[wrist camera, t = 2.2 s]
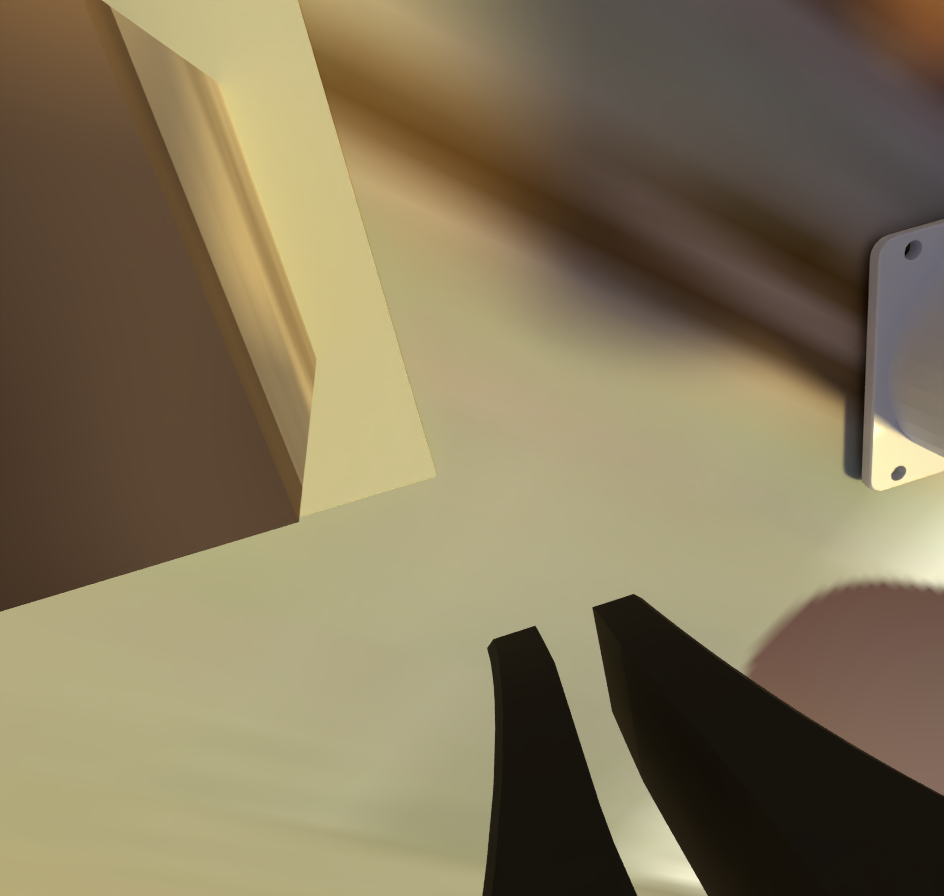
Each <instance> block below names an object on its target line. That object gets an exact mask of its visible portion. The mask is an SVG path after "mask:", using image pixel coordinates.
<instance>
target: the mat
mask: <svg viewBox="0 0 944 896" xmlns="http://www.w3.org/2000/svg"><path fill="white" fill-rule="evenodd" d="M102 1H103V2H105V3H106V4H108V5H109V6H110V7H112V8H113V9H115V10H116V11H117V12H119V13H120V14H122V15H123V16H125V17H126V18H127V19H129V20H130V21H132V22H133V23H134V24H136V25H137V26H139V27H140V28H141V29H143V30H144V31H146V32H147V33H149V34H150V35H151V36H153V37H154V38H156V39H157V40H158V41H160V42H161V43H163V44H164V45H165V46H167V47H168V48H170V49H171V50H173V51H174V52H175V53H177V54H178V55H180V56H181V57H182V58H184V59H185V60H187V61H188V62H189V63H191V64H192V65H194V66H195V67H197V68H198V69H199V70H201V71H202V72H204V73H205V74H206V75H208V76H209V77H211V78H212V79H213V80H215V81H216V82H218V83H219V84H220V87H221V90H222V93H223V95H224V98H225V101H226V104H227V107H228V110H229V112H230V115H231V118H232V121H233V124H234V127H235V129H236V132H237V135H238V138H239V141H240V144H241V146H242V149H243V152H244V155H245V158H246V161H247V163H248V166H249V169H250V172H251V175H252V178H253V180H254V183H255V186H256V189H257V192H258V195H259V197H260V200H261V203H262V206H263V209H264V212H265V214H266V217H267V220H268V223H269V226H270V229H271V231H272V234H273V237H274V240H275V243H276V246H277V248H278V251H279V254H280V257H281V260H282V263H283V265H284V268H285V271H286V274H287V277H288V280H289V282H290V285H291V288H292V291H293V294H294V297H295V299H296V302H297V305H298V308H299V311H300V314H301V316H302V319H303V322H304V325H305V328H306V331H307V333H308V336H309V339H310V342H311V345H312V347H313V350H314V353H315V356H316V359H317V360H316V369H315V378H314V387H313V397H312V406H311V415H310V424H309V433H308V443H307V452H306V461H305V470H304V479H303V489H302V498H301V507H300V516H299V517H302V516H305V515H309V514H312V513H315V512H319V511H322V510H325V509H329V508H332V507H335V506H339V505H342V504H345V503H349V502H352V501H355V500H359V499H362V498H365V497H369V496H372V495H375V494H379V493H382V492H385V491H389V490H392V489H395V488H399V487H402V486H405V485H409V484H412V483H415V482H419V481H422V480H425V479H429V478H432V477H435V476H436V472H435V469H434V466H433V462H432V459H431V455H430V452H429V448H428V445H427V442H426V438H425V435H424V431H423V428H422V425H421V421H420V418H419V414H418V411H417V407H416V404H415V401H414V397H413V394H412V390H411V387H410V383H409V380H408V377H407V373H406V370H405V366H404V363H403V359H402V356H401V353H400V349H399V346H398V342H397V339H396V335H395V332H394V329H393V325H392V322H391V318H390V315H389V312H388V308H387V305H386V301H385V298H384V294H383V291H382V288H381V284H380V281H379V277H378V274H377V270H376V267H375V264H374V260H373V257H372V253H371V250H370V246H369V243H368V240H367V236H366V233H365V229H364V226H363V223H362V219H361V216H360V212H359V209H358V205H357V202H356V199H355V195H354V192H353V188H352V185H351V181H350V178H349V175H348V171H347V168H346V164H345V161H344V157H343V154H342V151H341V147H340V144H339V140H338V137H337V133H336V130H335V127H334V123H333V120H332V116H331V113H330V110H329V106H328V103H327V99H326V96H325V92H324V89H323V86H322V82H321V79H320V75H319V72H318V68H317V65H316V62H315V58H314V55H313V51H312V48H311V44H310V41H309V38H308V34H307V31H306V27H305V24H304V21H303V17H302V14H301V10H300V7H299V3H298V0H102Z"/></svg>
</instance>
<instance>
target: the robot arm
mask: <svg viewBox="0 0 944 896" xmlns="http://www.w3.org/2000/svg"><path fill="white" fill-rule="evenodd" d="M909 243H910V245H911V246H910V250H909V252H908V253H907V255H906V256H905V254H904V252H905V249H906V247H907V245H908V244H909ZM895 468H896V469H895ZM894 469H895V470H894ZM893 470H894V472H893V473H892V471H893ZM942 471H944V219H941V220H938V221H934V222H931V223H927V224H924V225H920V226H917V227H913V228H910V229H906V230H903V231H899V232H896V233H892V234H889V235H886V236H884V237H882V238H881V239H880V240H879V241H878V242H877V243H876V244H875V245H874V247H873V249H872V251H871V256H870V272H869V298H868V325H867V351H866V378H865V404H864V431H863V457H862V482H863V483H864V484H865V486H867V487H869V488H870V489H872V490H875V491H882V490H886V489H889V488H892V487H895V486H898V485H901V484H904V483H908V482H911V481H914V480H917V479H920V478H923V477H926V476H930V475H933V474H936V473H939V472H942ZM592 608H593V613H594V618H595V624H596V629H597V634H598V639H599V645H600V650H601V655H602V660H603V666H604V671H605V676H606V681H607V687H608V692H609V697H610V702H611V708H612V712H613V714H614V717H615V719H616V721H617V723H618V726H619V728H620V730H621V733H622V735H623V737H624V740H625V742H626V744H627V746H628V749H629V751H630V753H631V755H632V758H633V760H634V762H635V764H636V766H637V769H638V771H639V773H640V775H641V778H642V780H643V782H644V784H645V786H646V787H647V789H648V791H649V793H650V794H651V796H652V798H653V800H654V802H655V803H656V805H657V807H658V809H659V810H660V812H661V814H662V816H663V818H664V819H665V821H666V823H667V825H668V826H669V828H670V830H671V832H672V833H673V835H674V837H675V839H676V841H677V842H678V844H679V846H680V848H681V849H682V851H683V853H684V855H685V856H686V858H687V860H688V862H689V863H690V865H691V867H692V869H693V870H694V872H695V874H696V876H697V877H698V879H699V881H700V883H701V884H702V886H703V888H704V890H705V891H706V893H707V895H708V896H944V796H943V795H941V794H939V793H937V792H936V791H934V790H932V789H930V788H928V787H926V786H925V785H923V784H921V783H919V782H917V781H915V780H913V779H912V778H910V777H907V776H906V775H904V774H902V773H901V772H899V771H897V770H895V769H894V768H892V767H890V766H888V765H886V764H885V763H883V762H881V761H879V760H878V759H876V758H874V757H873V756H871V755H869V754H868V753H866V752H864V751H862V750H861V749H859V748H857V747H856V746H854V745H852V744H851V743H849V742H847V741H845V740H844V739H842V738H841V737H839V736H838V735H836V734H834V733H833V732H831V731H829V730H828V729H826V728H824V727H823V726H821V725H819V724H818V723H816V722H815V721H813V720H811V719H810V718H808V717H806V716H805V715H803V714H802V713H800V712H799V711H797V710H796V709H794V708H793V707H791V706H790V705H788V704H787V703H785V702H783V701H782V700H780V699H779V698H777V697H776V696H774V695H773V694H771V693H770V692H768V691H767V690H766V689H764V688H763V687H761V686H760V685H758V684H757V683H755V682H754V681H752V680H751V679H749V678H748V677H747V676H745V675H744V674H742V673H741V672H739V671H738V670H736V669H735V668H733V667H732V666H731V665H729V664H728V663H726V662H725V661H724V660H722V659H721V658H719V657H718V656H717V655H715V654H714V653H712V652H711V651H710V650H708V649H707V648H706V647H704V646H703V645H702V644H700V643H699V642H698V641H696V640H695V639H693V638H692V637H691V636H689V635H688V634H687V633H685V632H684V631H683V630H682V629H680V628H679V627H678V626H676V625H675V624H674V623H672V622H671V621H670V620H669V619H667V618H666V617H665V616H663V615H662V614H661V613H660V612H658V611H657V610H656V609H655V608H653V607H652V606H651V605H650V604H648V603H647V602H646V601H645V600H643V599H642V598H640V597H638V596H636V595H635V594H632V595H629V596H626V597H623V598H620V599H617V600H614V601H611V602H608V603H605V604H601V605H598V606H595V607H592ZM487 649H488V653H489V657H490V661H491V667H492V675H493V684H494V698H495V756H494V785H493V799H492V810H491V821H490V832H489V843H488V854H487V864H486V872H485V880H484V888H483V896H637V894H636V892H635V890H634V887H633V885H632V883H631V881H630V878H629V876H628V874H627V871H626V869H625V867H624V865H623V862H622V860H621V858H620V856H619V853H618V851H617V849H616V846H615V844H614V842H613V839H612V836H611V834H610V831H609V828H608V825H607V823H606V820H605V817H604V815H603V812H602V809H601V807H600V804H599V801H598V797H597V794H596V791H595V788H594V785H593V782H592V779H591V775H590V772H589V769H588V766H587V763H586V760H585V756H584V753H583V750H582V747H581V744H580V741H579V738H578V734H577V731H576V728H575V725H574V722H573V719H572V715H571V712H570V709H569V706H568V703H567V700H566V697H565V693H564V690H563V687H562V684H561V681H560V678H559V675H558V672H557V668H556V665H555V662H554V660H553V658H552V656H551V654H550V652H549V650H548V649H547V647H546V645H545V643H544V641H543V639H542V637H541V635H540V633H539V631H538V630H537V628H536V626H533V627H530V628H527V629H524V630H521V631H518V632H514V633H511V634H508V635H505V636H502V637H499V638H496V639H493V641H492V642H491V644H490V645H489V646H488V648H487Z"/></svg>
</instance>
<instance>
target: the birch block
mask: <svg viewBox="0 0 944 896" xmlns="http://www.w3.org/2000/svg"><path fill="white" fill-rule="evenodd" d="M316 360H317V359H316V356H315V353H314V350H313V347H312V345H311V342H310V339H309V336H308V333H307V331H306V328H305V325H304V322H303V319H302V316H301V314H300V311H299V308H298V305H297V302H296V299H295V297H294V294H293V291H292V288H291V285H290V282H289V280H288V277H287V274H286V271H285V268H284V265H283V263H282V260H281V257H280V254H279V251H278V248H277V246H276V243H275V240H274V237H273V234H272V231H271V229H270V226H269V223H268V220H267V217H266V214H265V212H264V209H263V206H262V203H261V200H260V197H259V195H258V192H257V189H256V186H255V183H254V180H253V178H252V175H251V172H250V169H249V166H248V163H247V161H246V158H245V155H244V152H243V149H242V146H241V144H240V141H239V138H238V135H237V132H236V129H235V127H234V124H233V121H232V118H231V115H230V112H229V110H228V107H227V104H226V101H225V98H224V95H223V93H222V90H221V87H220V84H219V83H218V82H216V81H215V80H213V79H212V78H211V77H209V76H208V75H206V74H205V73H204V72H202V71H201V70H199V69H198V68H197V67H195V66H194V65H192V64H191V63H189V62H188V61H187V60H185V59H184V58H182V57H181V56H180V55H178V54H177V53H175V52H174V51H173V50H171V49H170V48H168V47H167V46H165V45H164V44H163V43H161V42H160V41H158V40H157V39H156V38H154V37H153V36H151V35H150V34H149V33H147V32H146V31H144V30H143V29H141V28H140V27H139V26H137V25H136V24H134V23H133V22H132V21H130V20H129V19H127V18H126V17H125V16H123V15H122V14H120V13H119V12H117V11H116V10H115V9H113V8H112V7H110V6H109V5H108V4H106V3H105V2H103V1H102V0H0V611H4V610H7V609H10V608H14V607H17V606H20V605H24V604H27V603H30V602H34V601H37V600H40V599H44V598H47V597H50V596H54V595H57V594H60V593H64V592H67V591H70V590H74V589H77V588H80V587H84V586H87V585H90V584H94V583H97V582H100V581H104V580H107V579H110V578H114V577H117V576H120V575H124V574H127V573H130V572H133V571H137V570H140V569H143V568H147V567H150V566H153V565H157V564H160V563H163V562H167V561H170V560H173V559H177V558H180V557H183V556H187V555H190V554H193V553H197V552H200V551H203V550H207V549H210V548H213V547H217V546H220V545H223V544H227V543H230V542H233V541H237V540H240V539H243V538H247V537H250V536H253V535H257V534H260V533H263V532H267V531H270V530H273V529H277V528H280V527H283V526H287V525H290V524H293V523H297V522H299V516H300V507H301V498H302V489H303V479H304V470H305V461H306V452H307V443H308V433H309V424H310V415H311V406H312V397H313V387H314V378H315V369H316Z"/></svg>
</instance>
